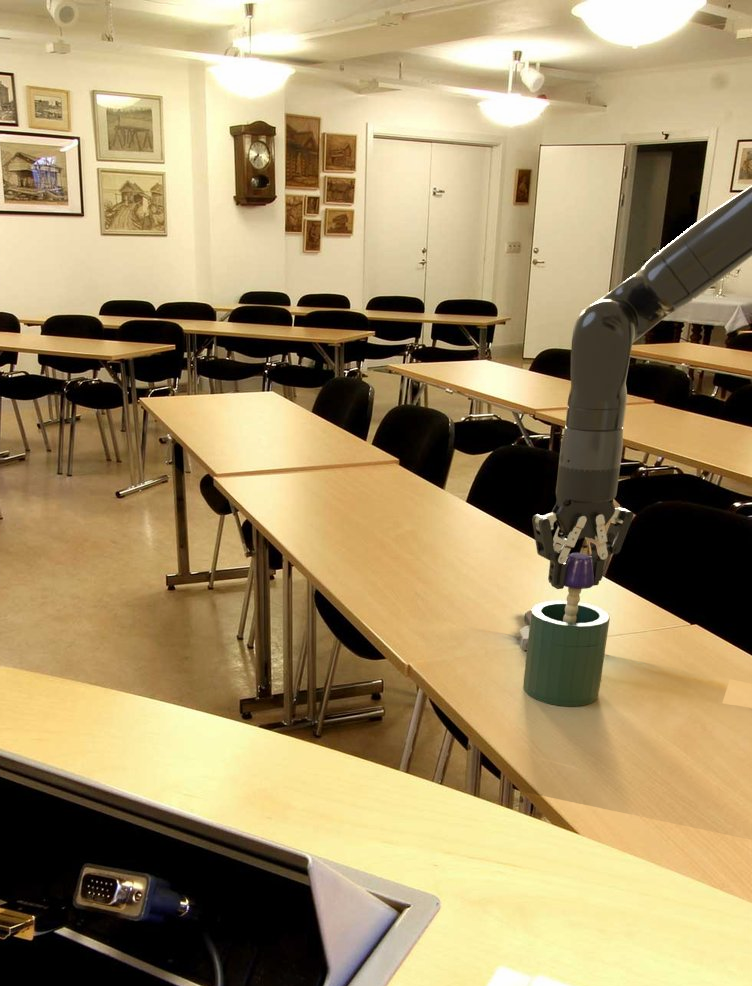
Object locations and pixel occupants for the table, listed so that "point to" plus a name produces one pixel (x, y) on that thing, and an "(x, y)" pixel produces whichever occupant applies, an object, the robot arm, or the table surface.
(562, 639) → the green cylindrical cup
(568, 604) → the toy lamp
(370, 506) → the table surface
